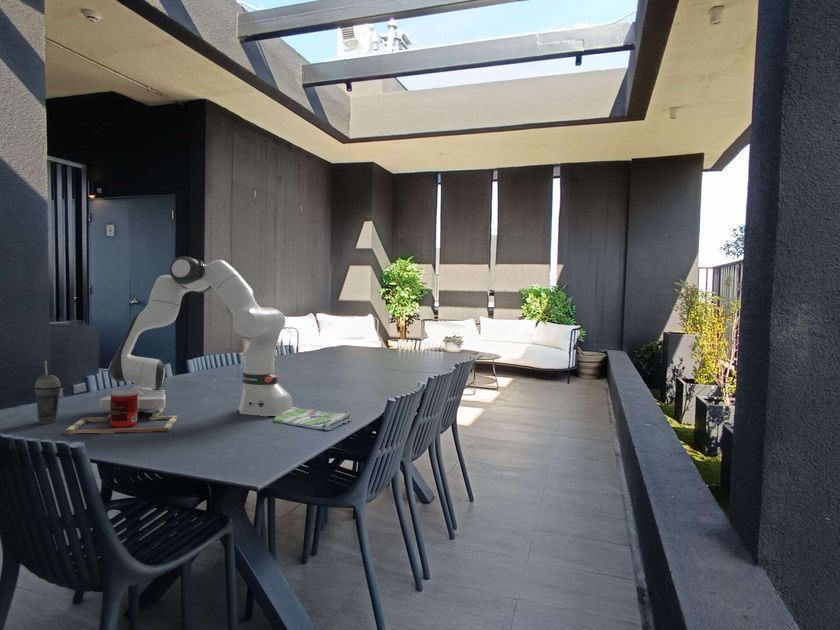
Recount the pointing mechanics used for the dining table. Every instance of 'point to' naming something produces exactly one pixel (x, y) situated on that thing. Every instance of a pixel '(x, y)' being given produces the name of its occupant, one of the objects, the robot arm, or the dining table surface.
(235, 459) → the dining table surface
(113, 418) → the canned food
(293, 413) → the dish towel
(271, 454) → the dining table surface
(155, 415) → the t outline
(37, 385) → the beverage cup
